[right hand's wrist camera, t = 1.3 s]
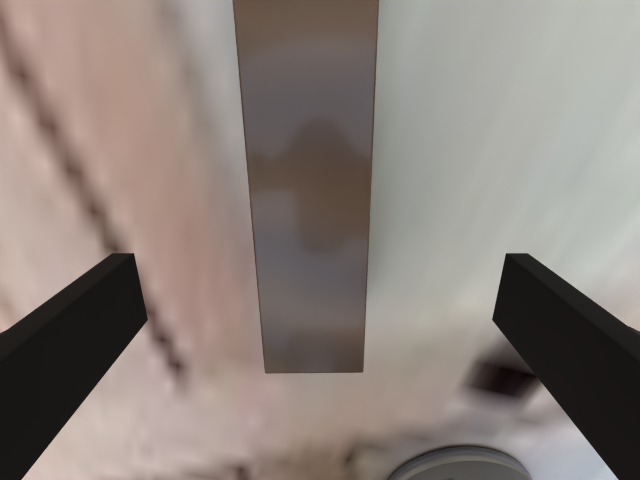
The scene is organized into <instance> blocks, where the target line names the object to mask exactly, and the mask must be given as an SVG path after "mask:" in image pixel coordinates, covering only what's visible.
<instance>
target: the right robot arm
mask: <svg viewBox="0 0 640 480" xmlns="http://www.w3.org/2000/svg"><path fill="white" fill-rule="evenodd" d="M147 320H148V319H147V314H146V309H145V304H144V300H143V295H142V290H141V285H140V280H139V275H138V271H137V266H136V261H135V256H134V253H112V254H111V255H109V256H108V257H107V258H105V259H104V260H103V261H101V262H100V263H98V264H97V265H96V266H94V267H93V268H92V269H90V270H89V271H87V272H86V273H85V274H83V275H82V276H81V277H79V278H78V279H76V280H75V281H74V282H72V283H71V284H70V285H68V286H67V287H65V288H64V289H63V290H61V291H60V292H59V293H57V294H56V295H54V296H53V297H52V298H50V299H49V300H48V301H46V302H45V303H43V304H42V305H41V306H39V307H38V308H37V309H35V310H34V311H33V312H31V313H30V314H28V315H27V316H26V317H24V318H23V319H22V320H20V321H19V322H17V323H16V324H15V325H13V326H12V327H11V328H9V329H8V330H6V331H4V332H2V333H0V480H21V479H22V478H23V477H24V476H25V474H26V473H27V472H28V471H29V469H30V468H31V467H32V466H33V464H34V463H35V462H36V461H37V459H38V458H39V457H40V455H41V454H42V453H43V452H44V450H45V449H46V448H47V447H48V445H49V444H50V443H51V442H52V440H53V439H54V438H55V437H56V435H57V434H58V433H59V431H60V430H61V429H62V428H63V426H64V425H65V424H66V423H67V421H68V420H69V419H70V418H71V416H72V415H73V414H74V412H75V411H76V410H77V409H78V407H79V406H80V405H81V404H82V402H83V401H84V400H85V399H86V397H87V396H88V395H89V394H90V392H91V391H92V390H93V388H94V387H95V386H96V385H97V383H98V382H99V381H100V380H101V378H102V377H103V376H104V375H105V373H106V372H107V371H108V370H109V368H110V367H111V366H112V364H113V363H114V362H115V361H116V359H117V358H118V357H119V356H120V354H121V353H122V352H123V351H124V349H125V348H126V347H127V345H128V344H129V343H130V342H131V340H132V339H133V338H134V337H135V335H136V334H137V333H138V332H139V330H140V329H141V328H142V327H143V325H144V324H145V323H146V321H147ZM492 320H493V321H494V323H495V324H496V325H497V327H498V328H499V329H500V330H501V332H502V333H503V334H504V335H505V337H506V338H507V339H508V340H509V342H510V343H511V344H512V345H513V347H514V348H515V349H516V351H517V352H518V353H519V354H520V356H521V357H522V358H523V359H524V361H525V362H526V363H527V364H528V366H529V367H530V368H531V370H532V371H533V372H534V373H535V375H536V376H537V377H538V378H539V380H540V381H541V382H542V383H543V385H544V386H545V387H546V388H547V390H548V391H549V392H550V394H551V395H552V396H553V397H554V399H555V400H556V401H557V402H558V404H559V405H560V406H561V407H562V409H563V410H564V411H565V412H566V414H567V415H568V416H569V418H570V419H571V420H572V421H573V423H574V424H575V425H576V426H577V428H578V429H579V430H580V431H581V433H582V434H583V435H584V437H585V438H586V439H587V440H588V442H589V443H590V444H591V445H592V447H593V448H594V449H595V450H596V452H597V453H598V454H599V455H600V457H601V458H602V459H603V461H604V462H605V463H606V464H607V466H608V467H609V468H610V469H611V471H612V472H613V473H614V474H615V476H616V477H617V478H618V479H619V480H640V332H639V331H637V330H635V329H633V328H631V327H628V326H627V325H625V324H624V323H623V322H621V321H620V320H618V319H617V318H616V317H614V316H613V315H612V314H610V313H609V312H607V311H606V310H605V309H603V308H602V307H601V306H599V305H598V304H597V303H595V302H594V301H592V300H591V299H590V298H588V297H587V296H586V295H584V294H583V293H581V292H580V291H579V290H577V289H576V288H575V287H573V286H572V285H570V284H569V283H568V282H566V281H565V280H564V279H562V278H561V277H559V276H558V275H557V274H555V273H554V272H553V271H551V270H550V269H548V268H547V267H546V266H544V265H543V264H542V263H540V262H539V261H537V260H536V259H535V258H533V257H532V256H531V255H529V254H528V253H506V256H505V261H504V266H503V271H502V275H501V280H500V285H499V290H498V295H497V299H496V304H495V309H494V314H493V319H492ZM388 480H532V479H531V477H530V475H529V474H528V472H527V471H526V469H525V468H524V467H523V466H522V465H521V464H520V463H519V462H517V461H516V460H515V459H513V458H511V457H510V456H508V455H506V454H503V453H501V452H498V451H494V450H491V449H486V448H479V447H455V448H447V449H442V450H437V451H434V452H430V453H427V454H425V455H422V456H420V457H417V458H415V459H413V460H411V461H410V462H408V463H406V464H405V465H403V466H402V467H401V468H399V469H398V470H397V471H396V472H395V473H394V474H393V475H392V476H391V477H390V478H389V479H388Z"/></svg>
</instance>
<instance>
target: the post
mask: <svg viewBox="0 0 640 480" xmlns="http://www.w3.org/2000/svg"><path fill="white" fill-rule="evenodd" d="M233 9H234V21H235V33H236V44H237V56H238V67H239V79H240V90H241V102H242V113H243V125H244V136H245V148H246V159H247V171H248V183H249V194H250V206H251V217H252V229H253V240H254V252H255V263H256V275H257V286H258V298H259V309H260V321H261V332H262V344H263V356H264V367H265V373H356V372H363V366H364V342H365V318H366V295H367V271H368V247H369V224H370V200H371V176H372V152H373V129H374V105H375V81H376V58H377V34H378V10H379V0H233Z"/></svg>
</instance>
